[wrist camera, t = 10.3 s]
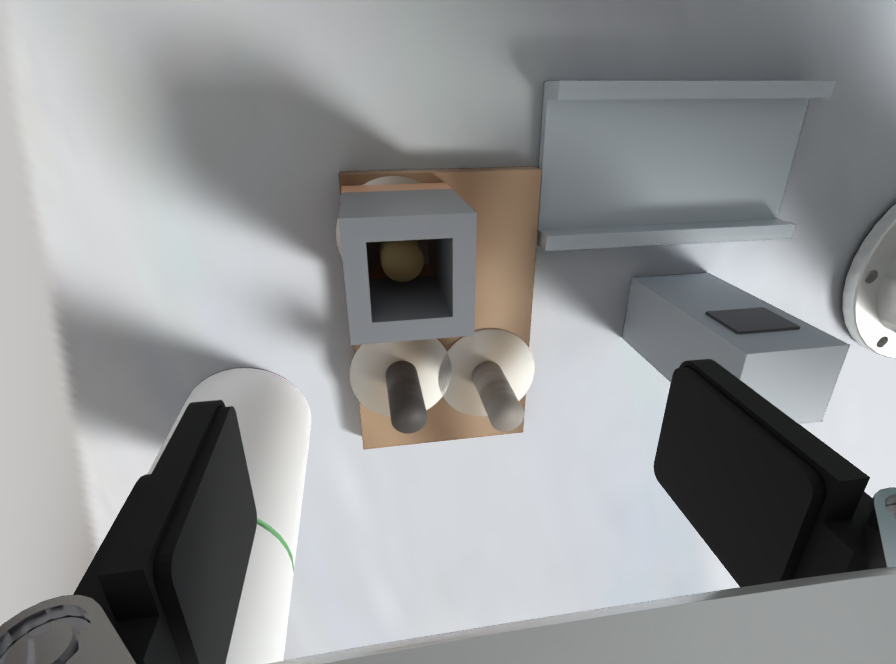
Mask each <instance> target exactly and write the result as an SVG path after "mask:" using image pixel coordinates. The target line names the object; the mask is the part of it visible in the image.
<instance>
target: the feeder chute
mask: <svg viewBox="0 0 896 664" xmlns="http://www.w3.org/2000/svg"><path fill="white" fill-rule="evenodd" d="M836 82H837V80H767V81H545V82H544V96H543V111H542V125H541V140H540V155H539V169H541V170H542V172H541V186H540V200H539V215H538V229H537V243H536V244H537V245H539V246H540V247H541V248H542V249H543V250H545V251H561V250H580V249H599V248H618V247H637V246H656V245H675V244H694V243H713V242H732V241H751V240H770V239H789V238H792V236H793V233H794V229H795V226H796V224H793V223H790V222H787V221H783V220H780V219H777V218H778V214H779V211H780V207H781V203H782V199H783V196H784V192H785V188H786V184H787V181H788V177H789V173H790V169H791V166H792V162H793V158H794V155H795V151H796V147H797V143H798V140H799V136H800V132H801V128H802V125H803V121H804V117H805V114H806V110H807V106H808V102H809V99H810V98H832V96H833V92H834V89H835V85H836Z"/></svg>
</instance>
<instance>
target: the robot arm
mask: <svg viewBox="0 0 896 664" xmlns="http://www.w3.org/2000/svg"><path fill="white" fill-rule="evenodd" d="M843 315H844V320H845V325H846V327H847V328H848V330H849V332H850V334H851V336H852V337H853V338H854V339H855V340H856V341H857V342H858V343H859V344H860V345H862V346H864V347H865V348H867V349H869V350H871V351H873V352H875V353H877V354H880V355H882V356H885V357H890V358H896V204H895V205H894V206H892V207H891V208H890V209H889V210H888V211H887V213H886V214H885V215H884V216H883V217H882V218H881V219H880V220H879V221H878V222H877V223H876V224H875V226H874V227H873V229H872V230H871V231H870V233H869V234H868V235H867V237H866V238H865V239H864V241H863V243H862V244H861V246H860V248H859V250H858V252H857V253H856V255H855V257H854V259H853V261H852V264H851V267H850V269H849V272H848V274H847V277H846V282H845V286H844V291H843ZM654 472H655V476H656V478H657V480H658V482H659V483H660V484H661V486H662V487H663V488H664V489H665V491H666V492H667V493H668V495H669V496H670V497H671V498H672V500H673V501H674V502H675V504H676V505H677V506H678V507H679V509H680V510H681V511H682V513H683V514H684V515H685V516H686V518H687V519H688V520H689V522H690V523H691V524H692V525H693V527H694V528H695V529H696V531H697V532H698V533H699V535H700V536H701V537H702V538H703V540H704V541H705V542H706V544H707V545H708V546H709V547H710V549H711V550H712V551H713V553H714V554H715V555H716V556H717V558H718V559H719V560H720V562H721V563H722V564H723V565H724V567H725V568H726V569H727V571H728V572H729V573H730V574H731V576H732V577H733V578H734V580H735V581H736V582H737V584H738V585H739V586H740V588H733V589H726V590H720V591H713V592H706V593H699V594H693V595H686V596H679V597H673V598H666V599H660V600H653V601H647V602H640V603H634V604H627V605H621V606H614V607H608V608H601V609H595V610H588V611H582V612H576V613H569V614H563V615H557V616H550V617H544V618H537V619H531V620H525V621H518V622H512V623H505V624H499V625H493V626H487V627H481V628H474V629H468V630H462V631H456V632H450V633H444V634H437V635H431V636H425V637H419V638H413V639H406V640H400V641H394V642H388V643H382V644H375V645H369V646H363V647H357V648H351V649H346V650H340V651H335V652H329V653H323V654H318V655H312V656H307V657H301V658H295V659H290V660H284V661H279V662H273V663H267V664H896V488H886V489H881V490H879V491H878V492H877V493H876V494H875V495H874V497H873V498H871V497H870V496H869V495H868V494H866V493H865V492H864V490H865V488H866V485H867V483H868V481H869V479H870V477H869V476H867V475H866V474H865V473H863V472H862V471H861V470H859V469H858V468H857V467H855V466H854V465H853V464H851V463H850V462H849V461H847V460H846V459H845V458H843V457H842V456H841V455H839V454H838V453H837V452H835V451H834V450H833V449H831V448H830V447H829V446H827V445H826V444H825V443H823V442H822V441H821V440H819V439H818V438H817V437H815V436H814V435H813V434H811V433H810V432H809V431H807V430H806V429H805V428H803V427H802V426H801V425H799V424H798V423H797V422H795V421H794V420H793V419H791V418H790V417H789V416H788V415H786V414H785V413H784V412H782V411H781V410H780V409H778V408H777V407H776V406H774V405H773V404H772V403H770V402H769V401H768V400H766V399H765V398H764V397H762V396H761V395H760V394H758V393H757V392H756V391H754V390H753V389H752V388H750V387H749V386H748V385H746V384H745V383H744V382H742V381H741V380H740V379H738V378H737V377H736V376H734V375H733V374H732V373H730V372H729V371H728V370H726V369H725V368H724V367H722V366H721V365H720V364H718V363H717V362H716V361H714V360H712V359H700V360H688V361H684V362H682V363H681V365H680V366H679V368H677V369H675V370H674V372H673V375H672V380H671V385H670V389H669V394H668V399H667V404H666V409H665V413H664V418H663V423H662V428H661V433H660V437H659V442H658V447H657V452H656V456H655V461H654ZM256 527H257V511H256V506H255V501H254V496H253V491H252V486H251V482H250V477H249V472H248V467H247V463H246V458H245V453H244V448H243V443H242V439H241V434H240V429H239V424H238V420H237V415H236V411H235V408H234V407H233V406H229V407H225V404H224V402H223V401H222V400H213V401H201V402H192V403H189V405H188V406H187V408H186V410H185V412H184V414H183V416H182V417H181V419H180V421H179V423H178V425H177V427H176V429H175V430H174V432H173V434H172V436H171V438H170V440H169V442H168V444H167V445H166V447H165V449H164V451H163V453H162V455H161V457H160V459H159V460H158V462H157V464H156V466H155V468H154V470H153V472H152V473H151V474H147V475H144V476H142V477H140V478H139V480H138V481H137V482H136V484H135V486H134V487H133V489H132V491H131V493H130V494H129V496H128V498H127V500H126V502H125V503H124V505H123V507H122V509H121V510H120V512H119V514H118V516H117V518H116V519H115V521H114V523H113V525H112V526H111V528H110V530H109V532H108V534H107V535H106V537H105V539H104V541H103V543H102V544H101V546H100V548H99V550H98V551H97V553H96V555H95V557H94V559H93V560H92V562H91V564H90V566H89V567H88V569H87V571H86V573H85V575H84V576H83V578H82V580H81V582H80V583H79V586H78V587H77V589H76V591H75V592H74V594H73V595H67V596H60V597H56V598H53V599H49V600H46V601H43V602H40V603H38V604H36V605H34V606H32V607H30V608H28V609H26V610H23V611H22V612H20V613H19V614H17V615H16V616H14V617H13V618H11V619H10V620H8V621H7V622H5V623H4V624H2V625H1V626H0V664H226V659H227V655H228V651H229V646H230V642H231V637H232V633H233V629H234V624H235V620H236V615H237V611H238V607H239V602H240V598H241V594H242V589H243V585H244V580H245V576H246V572H247V567H248V563H249V558H250V554H251V550H252V545H253V541H254V536H255V532H256Z"/></svg>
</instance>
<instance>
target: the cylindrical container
mask: <svg viewBox="0 0 896 664" xmlns="http://www.w3.org/2000/svg"><path fill="white" fill-rule="evenodd" d="M213 400H222V401H223V402H224V404H225V407H229V406H233V407H234V408H235V411H236V415H237V420H238V424H239V429H240V434H241V439H242V443H243V448H244V453H245V458H246V463H247V467H248V472H249V477H250V482H251V486H252V491H253V496H254V501H255V506H256V511H257V527H256V532H255V536H254V541H253V545H252V550H251V554H250V558H249V563H248V567H247V572H246V576H245V580H244V585H243V589H242V594H241V598H240V602H239V607H238V611H237V615H236V620H235V624H234V629H233V633H232V637H231V642H230V646H229V651H228V655H227V659H226V664H267V663H273V662H279V661H283V658H284V649H285V641H286V632H287V624H288V615H289V607H290V599H291V590H292V582H293V574H294V565H295V557H296V548H297V540H298V532H299V523H300V515H301V506H302V498H303V490H304V481H305V473H306V465H307V456H308V448H309V439H310V431H311V412H310V409H309V406H308V403H307V401H306V400H305V398H304V396H303V395H302V393H301V392H300V391H299V390H298V389H297V388H296V387H295V386H294V385H293V384H291V383H290V382H289V381H288V380H286V379H284V378H282V377H280V376H278V375H277V374H274V373H271V372H268V371H265V370H261V369H253V368H235V369H230V370H225V371H221V372H219V373H216V374H214V375H211V376H210V377H208V378H206V379H205V380H203V381H202V382H201V383H200V384H199V385H197V386H196V387H195V388H194V389H193V391H192V392H191V394H190V395H189V397H188V398H187V400H186V402H185V404H184V406H183V408H182V410H181V412H180V414H179V415H178V417H177V419H176V421H175V423H174V425H173V427H172V429H171V431H170V432H169V434H168V436H167V438H166V440H165V442H164V444H163V446H162V448H161V450H160V451H159V453H158V455H157V457H156V459H155V461H154V463H153V465H152V467H151V468H150V470H149V472H148V474H151V473H152V472H153V470H154V468H155V466H156V464H157V462H158V460H159V459H160V457H161V455H162V453H163V451H164V449H165V447H166V445H167V444H168V442H169V440H170V438H171V436H172V434H173V432H174V430H175V429H176V427H177V425H178V423H179V421H180V419H181V417H182V416H183V414H184V412H185V410H186V408H187V406H188V405H189V403H192V402H201V401H213Z"/></svg>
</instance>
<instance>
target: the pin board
mask: <svg viewBox="0 0 896 664" xmlns="http://www.w3.org/2000/svg"><path fill="white" fill-rule="evenodd" d="M541 172H542V170H541V169H539V168H537V167H534V166H533V167H496V168H458V169H421V170H383V171H346V172H339V184H340V195H341V186H355V185H385V184H416V183H447V184H448V185H449V186H450V187H451V188H452V189H453V190H454V191H455V192H456V193H457V194H458V195H459V196H460V197H461V198H462V199H463V200H464V201H465V202H466V203H467V204H468V205H469V206H470V207H471V208H472V209H473V210H474V211H476V212H477V230H476V285H475V336H462V337H449V338H437V339H424V340H411V341H399V342H386V343H373V344H361V345H354V351H355V355H354V357H353V359H352V362H351V366H350V384H351V387H352V390H353V392H354V394H355V396H356V397H357V399H358V400H359V406H360V418H361V429H362V440H363V449H372V448H381V447H390V446H400V445H409V444H418V443H428V442H437V441H446V440H456V439H465V438H474V437H483V436H493V435H502V434H511V433H521V432H523V425H524V411H525V397H526V392H527V391H528V389H529V387H530V385H531V383H532V380H533V377H534V371H535V365H534V359H533V355H532V353H531V351H530V349H529V341H530V327H531V313H532V299H533V285H534V271H535V257H536V243H537V229H538V215H539V200H540V186H541ZM338 218H339V216H338ZM336 241H337V247H338V250H339V253H340V255H341V258H342V251H341V240H340V230H339V220H337V225H336ZM366 249H367V262H368V268H371V267H382V268H383V270H384V272H385V274H386V275H387V276H388V277H389V278H391V279H393V280H395V281H398V282H406V281H410V280H412V279H414V278H415V277H417V276H418V275H419V273H420V272H421V270H422V268H423V264H429V239H423V240H402V241H382V242H366Z"/></svg>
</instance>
